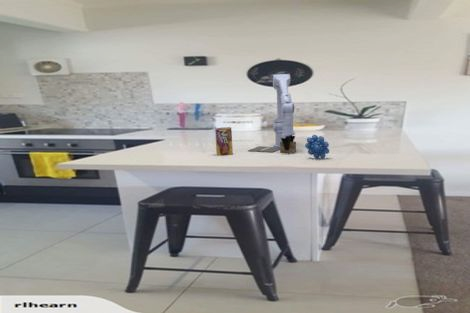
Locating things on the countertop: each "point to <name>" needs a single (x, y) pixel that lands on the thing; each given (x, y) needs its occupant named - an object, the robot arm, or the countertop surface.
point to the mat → (265, 149)
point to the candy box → (224, 141)
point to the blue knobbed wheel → (317, 146)
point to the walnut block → (291, 148)
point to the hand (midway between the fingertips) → (288, 149)
